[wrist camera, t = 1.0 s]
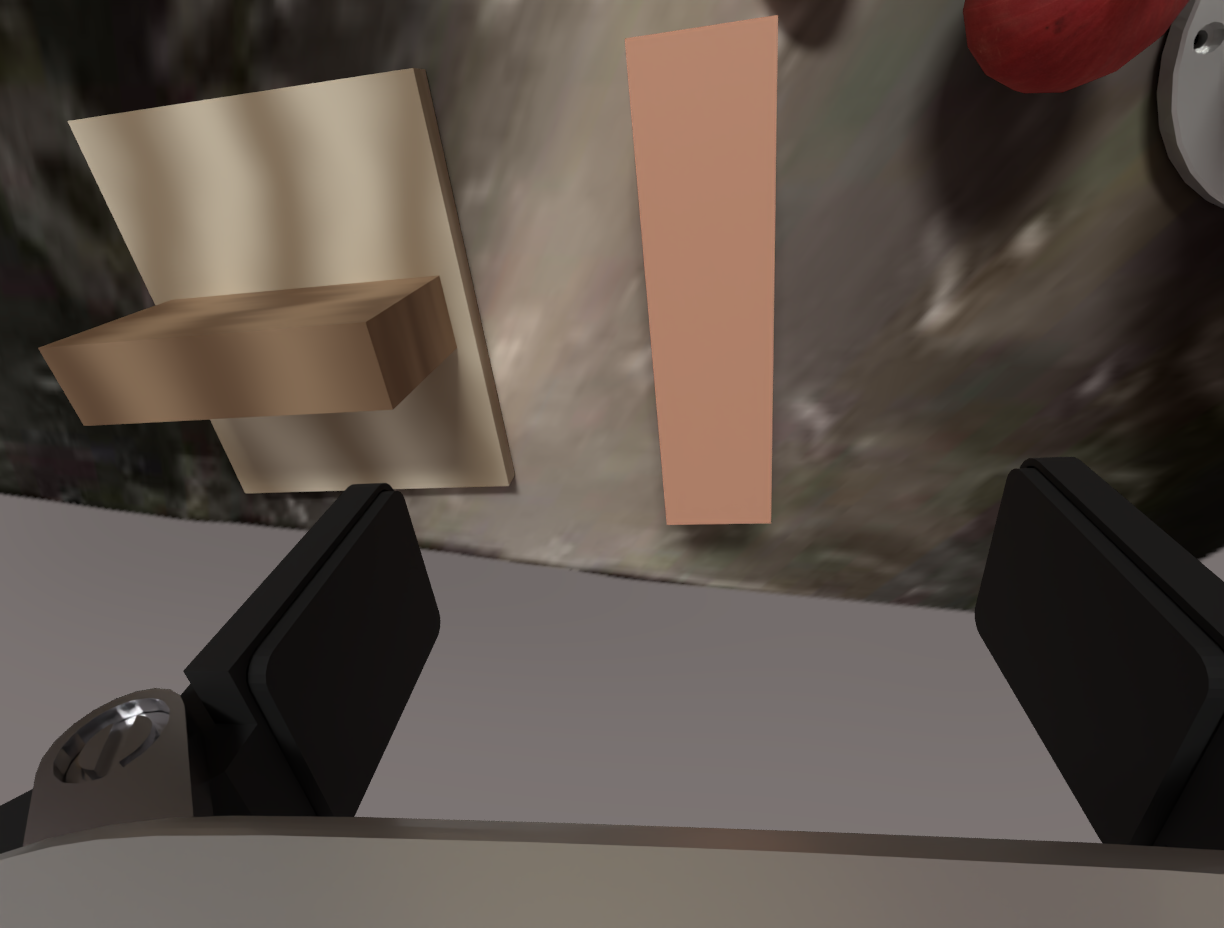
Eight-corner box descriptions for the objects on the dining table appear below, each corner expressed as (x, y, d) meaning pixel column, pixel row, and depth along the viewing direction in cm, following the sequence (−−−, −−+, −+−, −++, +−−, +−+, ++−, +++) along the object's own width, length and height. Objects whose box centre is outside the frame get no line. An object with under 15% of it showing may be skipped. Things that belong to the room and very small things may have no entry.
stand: (425, 69, 25) (313, 55, 18) (514, 474, 34) (464, 570, 27) (91, 120, 28) (-120, 125, 21) (258, 482, 37) (152, 571, 30)
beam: (762, 35, 23) (778, 15, 18) (760, 455, 32) (770, 523, 27) (643, 52, 24) (624, 38, 19) (673, 458, 33) (666, 524, 27)
